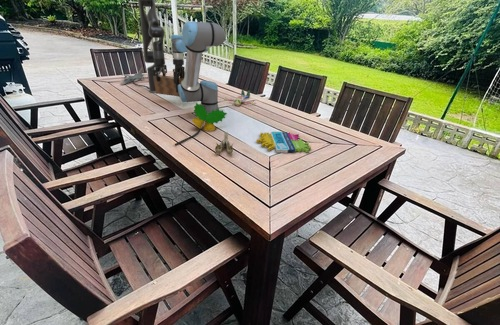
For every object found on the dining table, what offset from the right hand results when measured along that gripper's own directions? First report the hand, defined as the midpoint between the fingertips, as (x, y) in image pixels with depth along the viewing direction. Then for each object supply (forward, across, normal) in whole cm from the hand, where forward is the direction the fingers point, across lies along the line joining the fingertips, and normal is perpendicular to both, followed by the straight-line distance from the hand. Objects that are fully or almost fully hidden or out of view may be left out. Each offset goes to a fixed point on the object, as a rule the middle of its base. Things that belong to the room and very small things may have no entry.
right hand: (180, 91), depth 197 cm
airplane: (+10, -51, -77) cm, 93 cm away
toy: (+11, -31, +40) cm, 51 cm away
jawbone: (+11, +62, +57) cm, 85 cm away
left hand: (-6, 0, -15) cm, 16 cm away
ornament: (+11, +36, +38) cm, 53 cm away
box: (+3, 0, -8) cm, 8 cm away
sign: (+11, +40, +85) cm, 94 cm away
